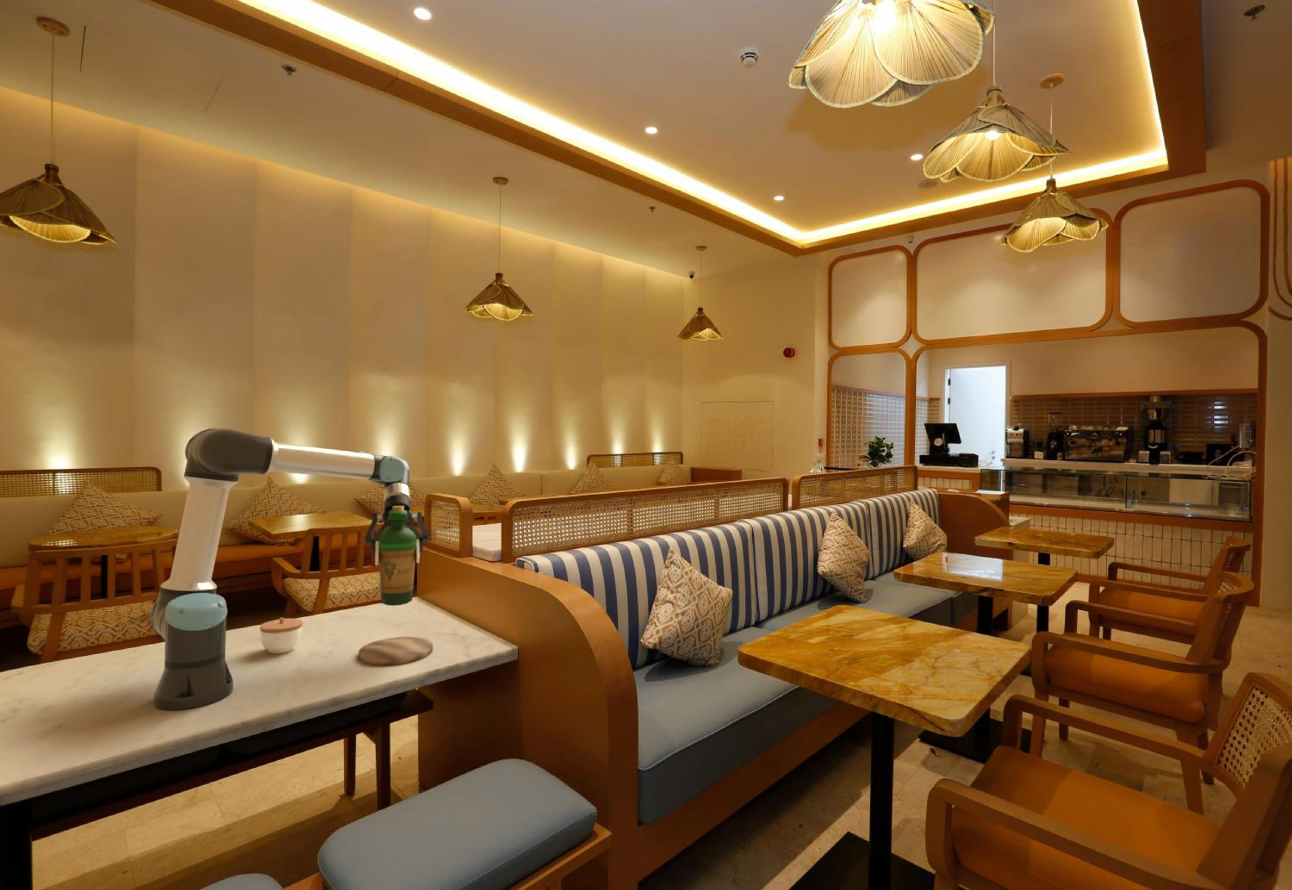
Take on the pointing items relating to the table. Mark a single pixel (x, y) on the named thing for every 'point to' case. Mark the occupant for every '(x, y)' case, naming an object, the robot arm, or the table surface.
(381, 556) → the bottle
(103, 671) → the table surface
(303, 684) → the table surface
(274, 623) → the lidded jar
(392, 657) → the serving board
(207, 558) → the robot arm
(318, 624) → the table surface
